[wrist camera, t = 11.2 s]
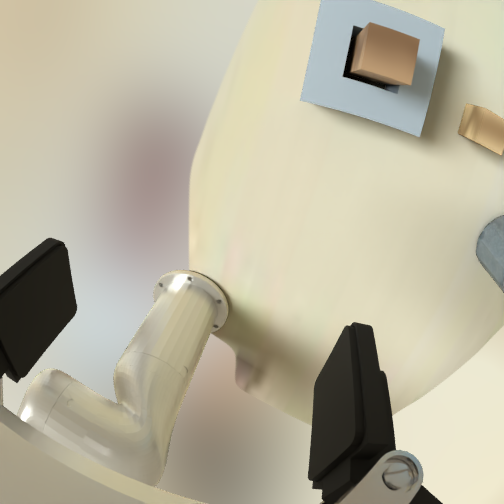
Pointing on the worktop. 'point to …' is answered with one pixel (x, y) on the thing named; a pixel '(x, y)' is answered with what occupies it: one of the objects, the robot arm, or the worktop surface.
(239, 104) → the worktop surface
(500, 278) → the moka pot
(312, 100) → the socket block
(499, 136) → the oak peg short
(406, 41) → the walnut peg long
